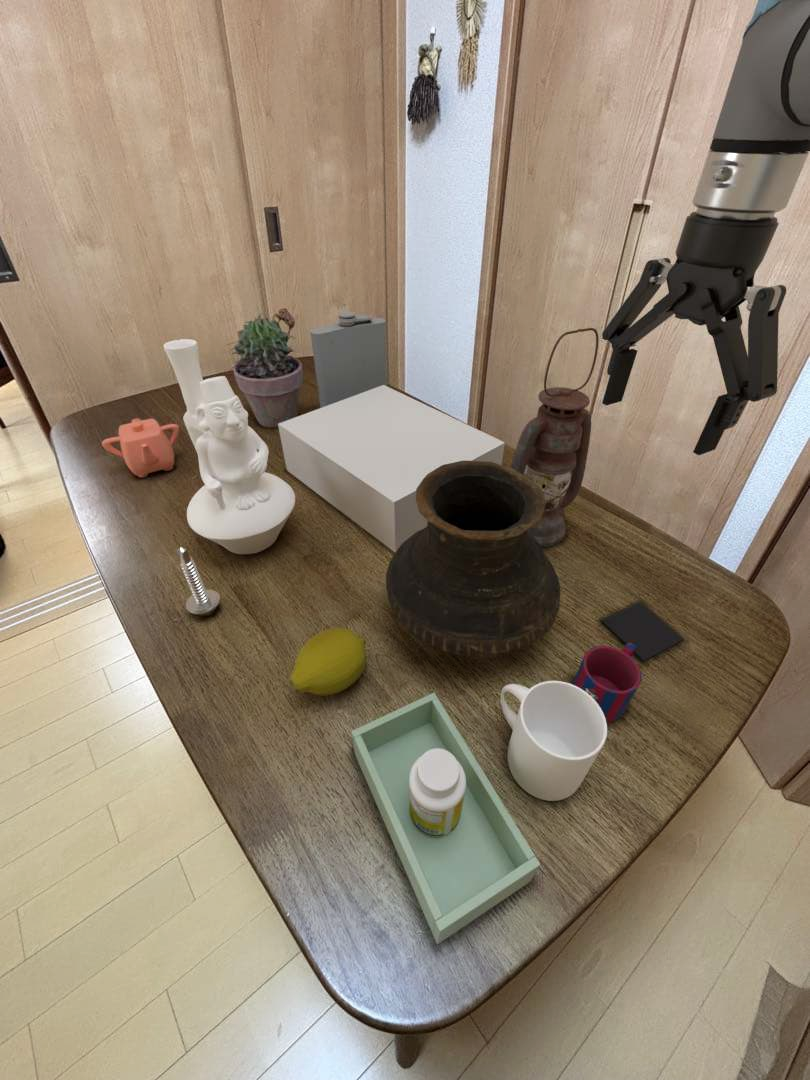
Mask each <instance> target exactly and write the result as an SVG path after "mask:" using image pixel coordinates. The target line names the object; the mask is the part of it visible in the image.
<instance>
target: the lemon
mask: <svg viewBox="0 0 810 1080" xmlns="http://www.w3.org/2000/svg"><path fill="white" fill-rule="evenodd" d="M366 642H367V641H366V639H365V638H364V637H361V636H358V635H357V634H356V633H355V632H354V631H353V630H351V629H349V628H347V627H340V626H339V627H337V626H336V627H335V626H334V627H331V628H327V629H324V630H322V631H320V632H317V634H315V635H313V636H312V637H311V638H310V639H309V640H307V641H306V643H305V644H304V645H303V646H302V648H301V649H300V651H299V653H298V655H297V656H296V659H295V663H294V666H293V669H292V671H291V675H290V676H289V680H290V682H291V683H292V684H293V686H294V688H295V689H296V690H297V691H298V692H300V693H310V694H313V695H317V696H331V695H335V694H338V693H341V692H343V691H344V690H346V689H347V688H349V687H350V686H352V685H353V684H354V683H355V682H357V680H358V679H359V678H360V677H361V676H362V674H363V672H364V670H365V668H366V665H367V652H366Z"/></svg>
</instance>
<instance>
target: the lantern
mask: <svg viewBox="0 0 810 1080" xmlns="http://www.w3.org/2000/svg"><path fill="white" fill-rule="evenodd" d="M589 331H593V332H594V334H595V349H594V356H593V362H592V364H591V368H590V371H589V374H588V376H587V378H586V380H585V382H584V383H583V384H582V385H581V386H579V387H578V388H570V387H563V386H555V387H548V388H547V380H548V375H549V370H550V366H551V364H552V363H551V362H552V359H553V356H554V354H555V352H556V349H557V347H558V344H559V343H560V341H561V340H562V339H563V338H564V337H565V336H567V335H572V334H578V333H580V332H589ZM598 349H599V333H598V331H597V329H596V328H594V327H587V328H578V329H575V330H569V331H566V332H564V333H562V334H561V335H560V336H559V337H558V339H557V340H556V341H555V343H554V346H553V348H552V349H551V353H550V355H549V359H548V362H547V364H546V370H545V374H544V380H543V389H542V390H541V391H540V392H539V393H538V396H537V397H538V400H539V402H540V403H542V404H541V405H540V406H539V407H538V409H537V415H536V417H534V418H531V420H529V421H528V422H527V424H526V425H525V426H524V428H523V429H522V431H521V434H520V436H519V438H518V441H517V444H516V447H515V450H514V454H513V457H512V461H511V463H510V466H509V468H512V469H515V470H516V471H518V472H519V473H521V474H522V475H524V476H525V477H527V478H528V479H530V480H531V481H533V482H534V483H536V484H537V485H539V486H540V488H541V489H542V491H543V493H544V496H545V501H546V505H545V509H544V513H543V516H542V520H541V522H539V523H538V524H536V525H534V526H533V527H531V528H530V529H528V531H527V532H528V533H530V534H531V535H532V536H533V537H534V538H535V539H536V540H537V541H538V543H539V544H540V546H541V548H542V549H543V548H549V547H553V546H555V545H558V544H559V543H560V542H562V540H563V539H564V538H565V536H566V535H565V534H566V532H567V524H566V522H565V518H566V512H565V510H564V509H565V508H567V507H568V506H569V505H570V504H571V503H572V502H573V501H574V500H575V499H576V497H577V495H578V494H579V492H580V489H581V487H582V484H583V480H584V476H585V471H586V466H587V460H588V453H589V448H590V440H591V434H592V433H591V432H592V416H591V413H590V411H589V410H588V409H586V408H587V407H588V406H589V405H590V402H591V401H590V400H591V399H590V397H589V396H588V395H587V394H585V393H584V392H582V391H580V390H582V389H584V388H585V387H586V385H587V384H588V382H589V381H590V380H591V378H592V374H593V372H594V368H595V366H596V360H597V357H598V351H599V350H598ZM549 477H551V478H552V479H553V480H552V479H551V478H549ZM538 478H544V479H546V480H547V483H546V484H541V483H540V482H538ZM548 486H553V487H551V488H549V487H548ZM547 487H548V488H547ZM560 489H561V490H560Z"/></svg>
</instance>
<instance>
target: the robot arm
mask: <svg viewBox="0 0 810 1080" xmlns="http://www.w3.org/2000/svg"><path fill="white" fill-rule="evenodd" d="M741 42H742V43H741V46H740V48H739V52H738V55H737V58H736V62H735V65H734V68H733V72H732V74H731V78H730V80H729V84H728V87H727V90H726V93H725V96H724V100H723V103H722V106H721V109H720V112H719V116H718V119H717V122H716V125H715V129H714V132H713V136H712V140H711V143H710V146H709V150H708V151H707V154H706V155H707V156H706V158H705V161H704V164H703V166H702V170H701V173H700V176H699V179H698V182H697V184H696V187H695V191H694V194H693V198H692V200H691V203H692V205H693V206H694V207H696V211H692V212H690V213H689V215H688V216H686V217H685V221H684V224H683V228H682V231H681V233H680V237H679V240H678V243H677V245H676V249H675V256H676V259H675V261H674V264H672V263H671V259H670V258H669V257H662V258H656V259H650V260H648V261H647V262H646V264H645V265H644V267H643V271H642V273H641V276H640V278H639V281H638V282H637V284H636V285H635V287H634V288H633V290H632V291H631V292H630V294H628V296H627V298H626V299H625V300H624V302H623V303H622V305H621V306H620V308H619V309H618V310H617V312H616V313H615V314H614V316H613V317H612V319H611V320H610V321H609V323H608V324H607V325H606V327H605V329H604V330H603V331H602V333H601V338H602V339H603V341H608V342H609V343H610V344H611V348H612V350H611V355H610V359H609V362H608V366H607V368H606V369H607V370H606V374H607V375H608V376H609V377H608V381H607V385H606V388H605V391H604V395H603V398H602V402H601V403H602V405H604V406H610V405H614V404H616V403H621V402H622V401H623V399H624V396H625V392H626V389H627V386H628V383H629V379H630V376H631V374H632V369H633V367H634V364H635V360H636V358H637V354H638V350H637V349H635V348H632V347H636V346H637V343H638V342H639V341H641V340H642V339H644V338H645V337H646V336H647V335H649V334H650V333H652V332H653V331H654V330H656V328H658V327H659V326H660V325H662V324H663V323H664V322H666V321H667V320H668V319H669V318H671V317H672V316H674V318H676V319H678V320H688V321H690V322H691V323H692V324H694V325H697V326H700V327H701V326H705V327H706V331H707V333H708V335H710V336H711V337H712V340H713V344H714V347H715V350H716V351H715V352H716V355H717V360H718V363H719V367H720V371H721V375H722V379H723V382H724V386H725V390H726V393H724V394H721V395H718V396H717V398H716V400H715V403H714V405H713V407H712V409H711V411H710V414H709V415H708V418H707V420H706V422H705V424H704V427H703V429H702V431H701V433H700V436H699V438H698V440H697V442H696V445H695V447H694V449H693V451H692V453H693V454H695V455H697V456H701V455H704V454H707V453H709V452H712V451H715V450H716V449H717V447H718V445H719V443H720V440H721V439H722V436H723V435H724V433H725V431H726V430H728V429H731V428H734V427H735V426H736V425H737V424H738V422H739V421H740V418H741V417H742V414H743V412H744V410H745V408H746V407H747V404H748V403H749V401H750V402H751V403H752V402H754V403H755V402H759V401H762V400H765V399H768V398H771V397H774V396H775V395H776V394H777V392H778V369H779V368H778V364H779V363H778V361H779V360H778V359H779V315H780V312H781V308H782V305H783V302H784V300H785V297H786V294H787V287H786V286H785V285H783V284H778V285H772V286H763V285H755V284H754V283H755V275H756V272H757V270H758V269H759V267H760V266H761V264H762V262H763V261H764V259H765V256H766V255H767V253H768V250H769V247H770V245H771V243H772V241H773V238H774V235H775V233H776V231H777V230H778V229H777V228H778V226H779V224H780V223H779V222H778V218H777V217H775V214H776V213H780V212H781V211H783V210H785V209H786V208H787V207H788V204H789V201H790V199H791V197H792V194H793V192H794V189H795V188H796V185H797V182H798V180H799V178H800V176H801V173H802V171H803V168H804V167H805V163H806V161H807V159H808V156H809V154H810V0H757V2H756V5H755V7H754V11H753V13H752V16H751V19H750V21H749V22H748V24H747V25H746V27H745V29H744V32H743V35H742V41H741ZM665 283H666V285H667V290H668V293H666V295H664V296H663V297H662V298H661V299H660V300H658V301H657V302H656V303H655V304H654V305H653V306H652V308H651V309H650V310H648V312H646V313H645V314H644V315H643V316H641V317H640V318H639V319H638V320H637V318H638V317H639V316H640V315H641V313H642V312H643V310H644V309H645V308H646V307H647V305H649V303H650V301H651V300H652V299H653V298H654V297H655V295H656V294H657V292H658V291H659V290H660V288H661V286H662V285H663V284H665ZM746 301H747V304H746V307H745V308H746V310H747V311H748V312H749V315H748V321H747V347H746V344H745V340H744V336H743V332H742V325H743V318H742V314H741V311H740V306H741V305H742V304H743V303H744V302H746ZM723 319H724V321H723Z"/></svg>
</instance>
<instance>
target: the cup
mask: <svg viewBox="0 0 810 1080" xmlns="http://www.w3.org/2000/svg"><path fill="white" fill-rule="evenodd" d="M635 649H636V646H635V645H634V644H633V643H630V642H629V643H627V644H626V645H625V644H624V646H623V647H622V649H619V648H617V647H613V646H609V645H597V646H593V647H592V648H591V647H590V648H589V649H588V650H587V651H586V652H585V653H584V655H583V657H582V660H581V663H580V664H579V667H578V670H577V672H576V675H575V677H574V680H573V682H572V683H571V684H572V685H575V686H577V687H579V688H581V689H582V690H584V691H585V692H586V693H588V694H589V695H590V696H591V697H592V698H593V699H594V700H595V701H596V702H597V703H598V705H599V706H600V708H601V710H602V712H603V713H604V716H605V719H606V723H607V724H608V723H613V722H615V721H617V720H619V719H620V718H621V717H622V716H623V714H624V713H625V711H626V709H627V708H628V706H629V704H630V702H631V700H632V699H633V697H634V695H635V693H636V692H637V690H638V689H639V686H640V685H641V684H642V683H641V682H642V670H641V668H640V666H639V665H638V663H637V662H636V661H635V660H634V658H633V655H634V652H635Z"/></svg>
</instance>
